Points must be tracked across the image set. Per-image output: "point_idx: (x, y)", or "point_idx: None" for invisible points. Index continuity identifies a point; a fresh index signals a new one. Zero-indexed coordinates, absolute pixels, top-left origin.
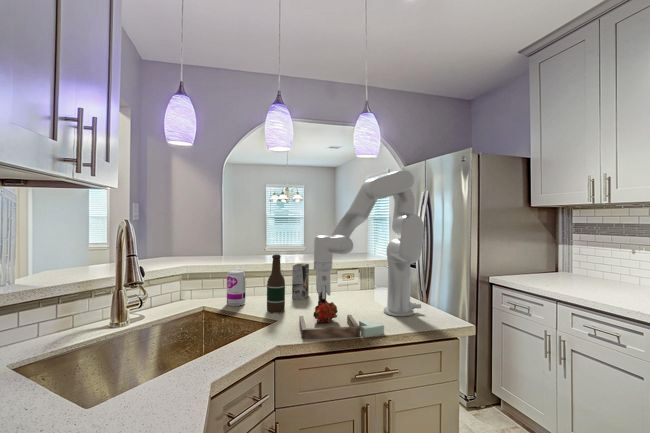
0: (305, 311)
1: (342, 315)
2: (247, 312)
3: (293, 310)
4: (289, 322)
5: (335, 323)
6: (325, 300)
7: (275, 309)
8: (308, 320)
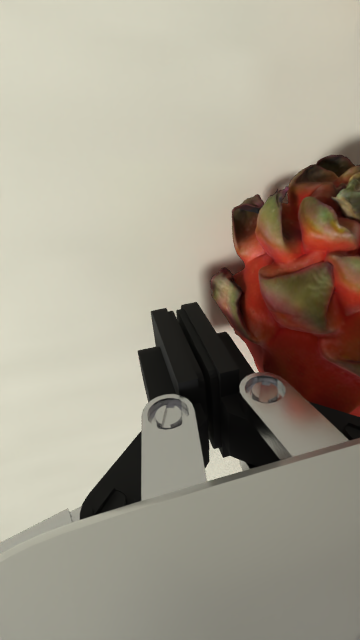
0: (8, 453)
1: (74, 51)
2: None
3: (6, 521)
4: None
5: None
6: (294, 396)
7: None
8: None
